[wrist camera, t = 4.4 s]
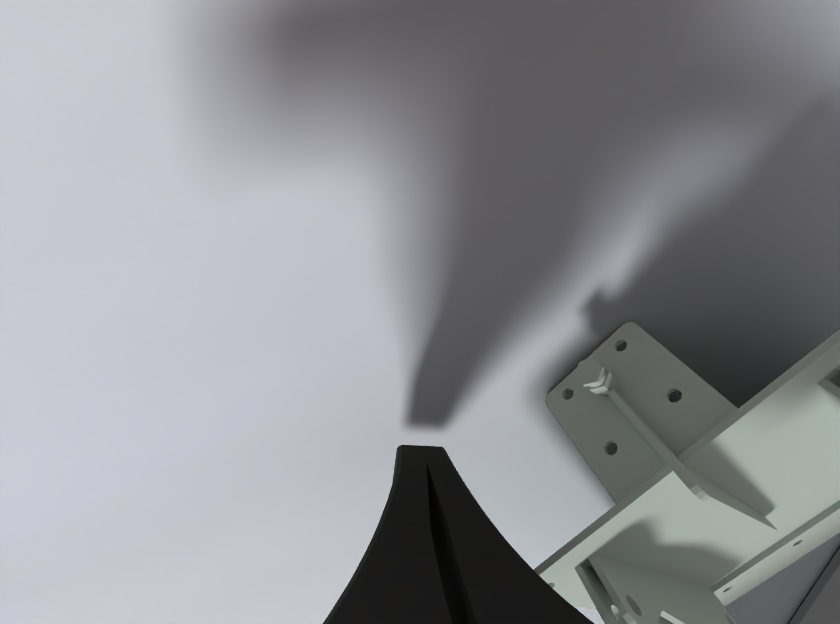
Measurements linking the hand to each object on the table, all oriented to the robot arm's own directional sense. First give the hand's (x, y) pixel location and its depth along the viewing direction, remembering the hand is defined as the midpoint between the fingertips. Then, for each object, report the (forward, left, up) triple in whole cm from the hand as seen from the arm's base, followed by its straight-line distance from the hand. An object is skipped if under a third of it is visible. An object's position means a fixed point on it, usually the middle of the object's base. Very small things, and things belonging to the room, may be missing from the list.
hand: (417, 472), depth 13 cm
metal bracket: (0, -10, -2) cm, 10 cm away
